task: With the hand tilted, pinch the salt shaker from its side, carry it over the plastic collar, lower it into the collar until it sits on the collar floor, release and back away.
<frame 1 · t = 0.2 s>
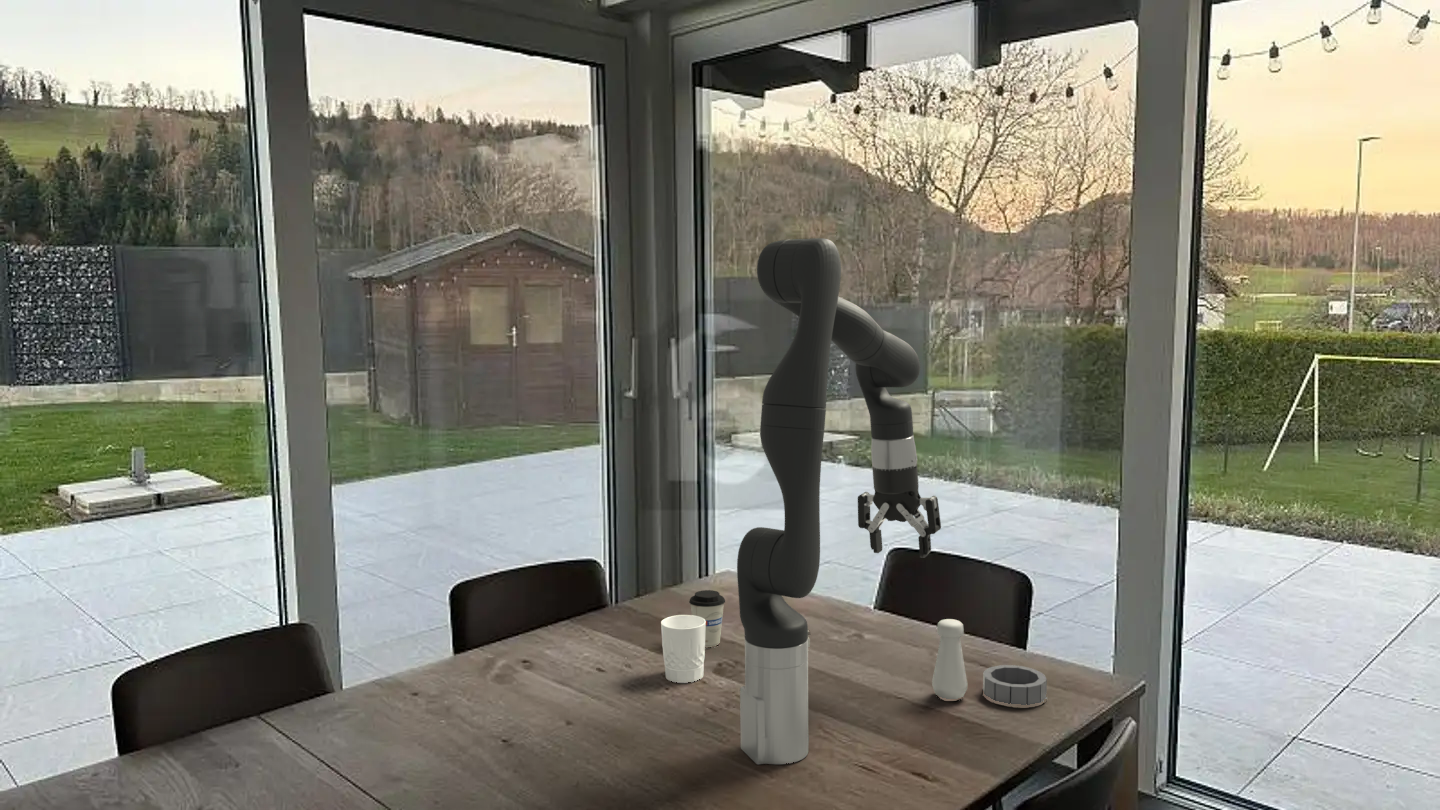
hand: (901, 554, 179), 22 cm above the table, tool pointing down, fingers open, 8 cm apart
collar: (1014, 696, 174), on the table
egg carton: (787, 646, 201), on the table
coffee cup: (707, 645, 201), on the table
salt shaker: (949, 698, 174), on the table
white cup: (684, 677, 185), on the table
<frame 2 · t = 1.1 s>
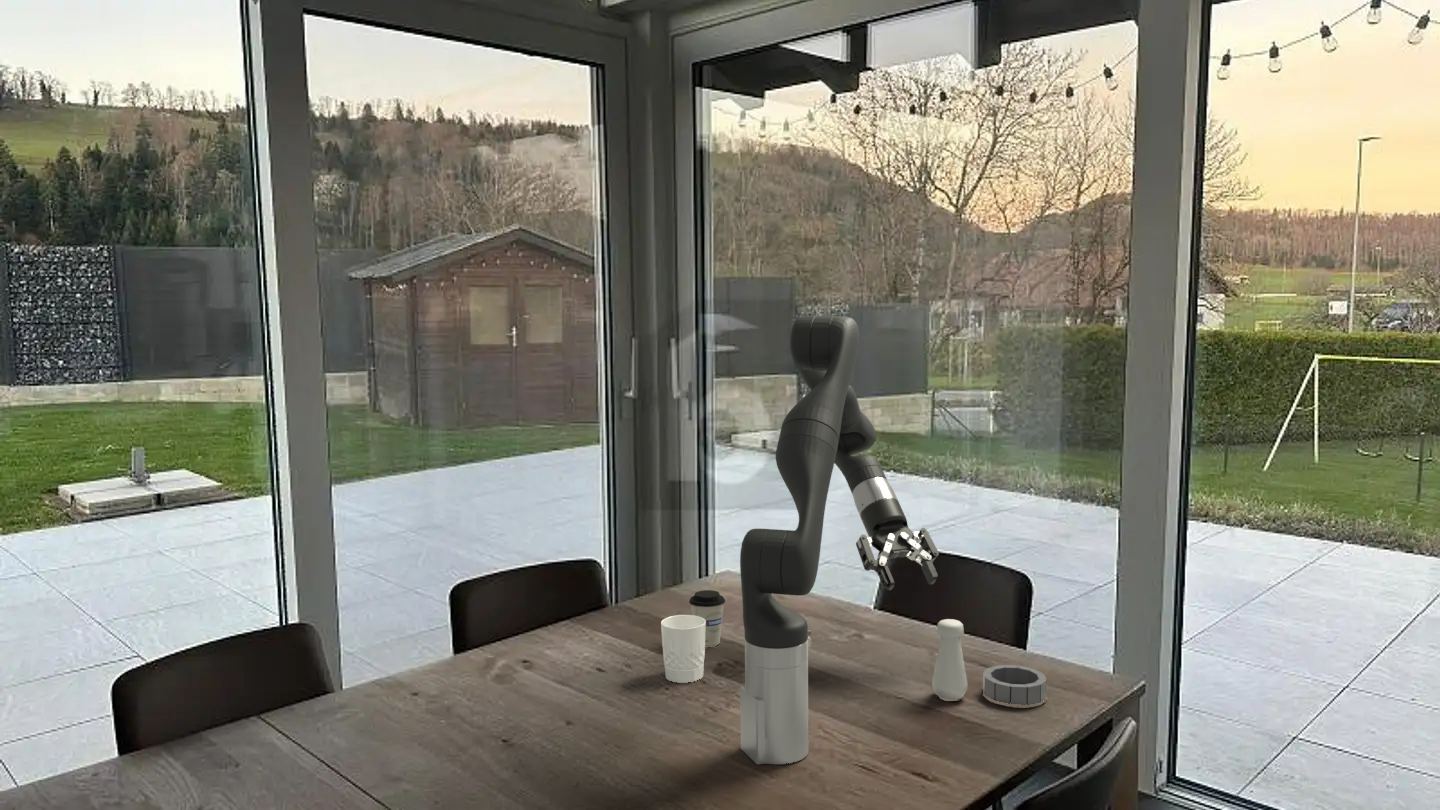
hand: (912, 584, 182), 16 cm above the table, tool tilted 45°, fingers open, 8 cm apart
nothing on the table moved.
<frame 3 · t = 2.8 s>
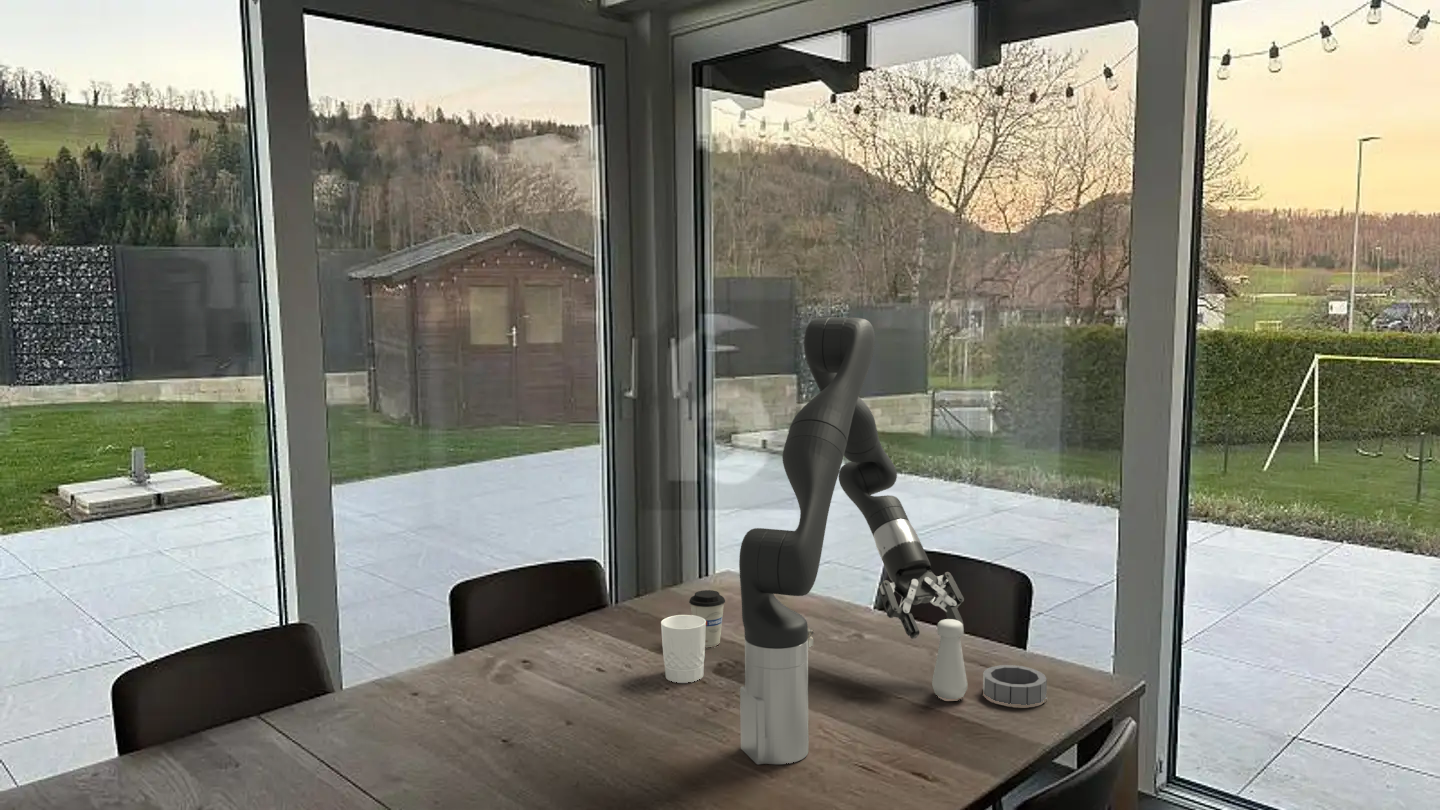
hand: (937, 633, 176), 10 cm above the table, tool tilted 45°, fingers open, 8 cm apart
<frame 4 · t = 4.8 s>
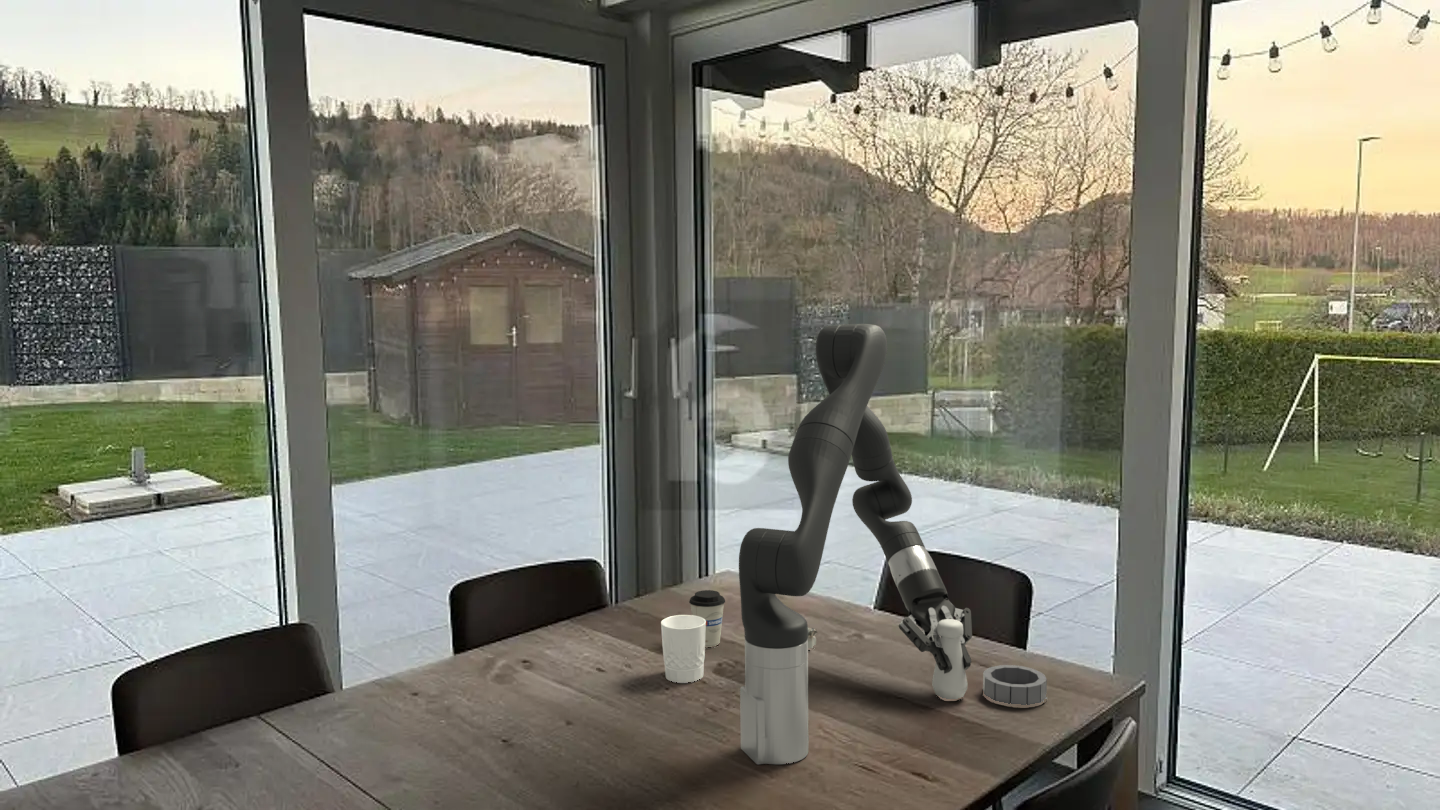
hand: (957, 669, 171), 5 cm above the table, tool tilted 45°, fingers closed on salt shaker, 3 cm apart
salt shaker: (949, 698, 174), on the table, touching gripper
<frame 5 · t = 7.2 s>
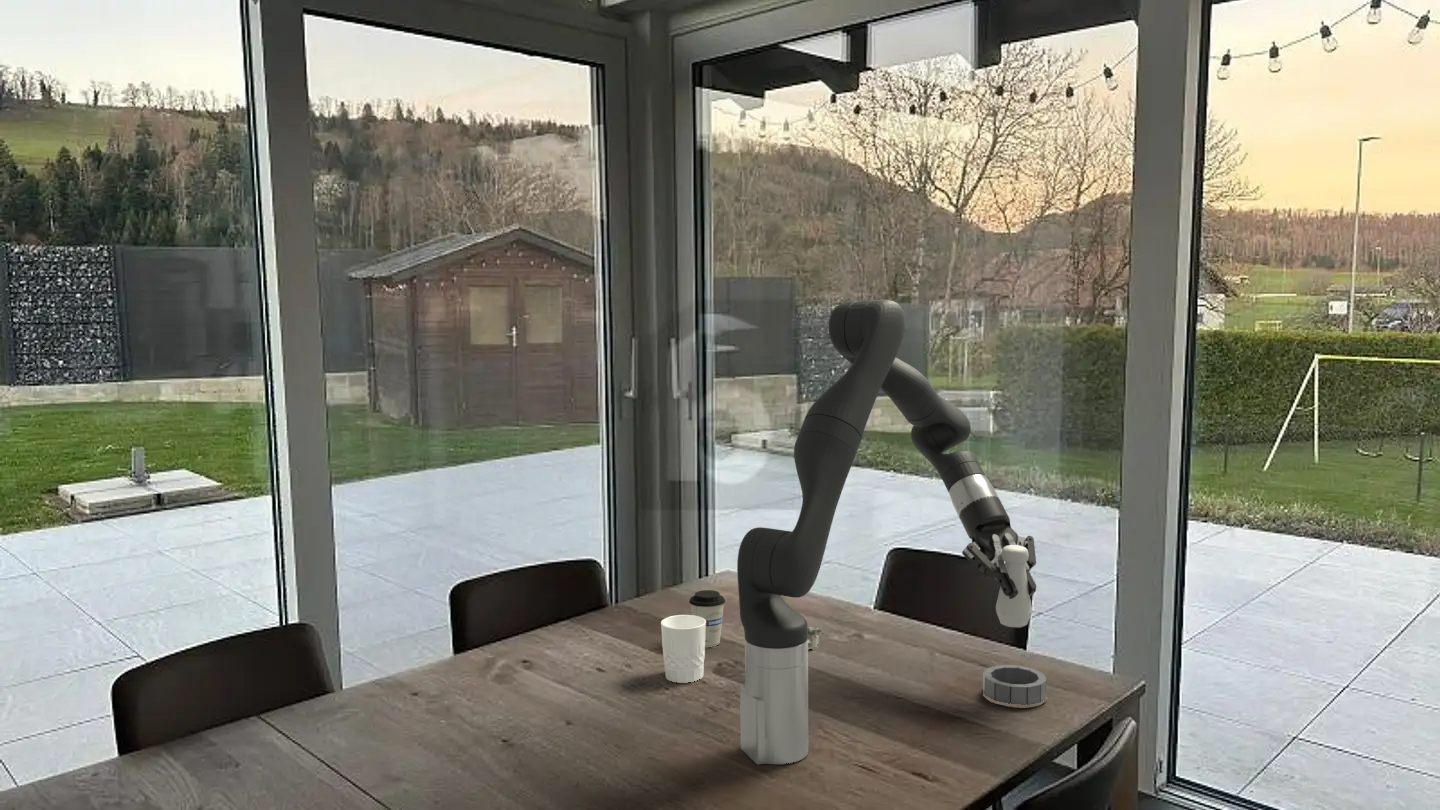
hand: (1022, 594, 170), 18 cm above the table, tool tilted 45°, fingers closed on salt shaker, 3 cm apart
salt shaker: (1013, 624, 173), point 12 cm above the table, touching gripper
when the fingers open (6 cm above the table, at t = 9.8 s): salt shaker stays where it is, resting on collar.
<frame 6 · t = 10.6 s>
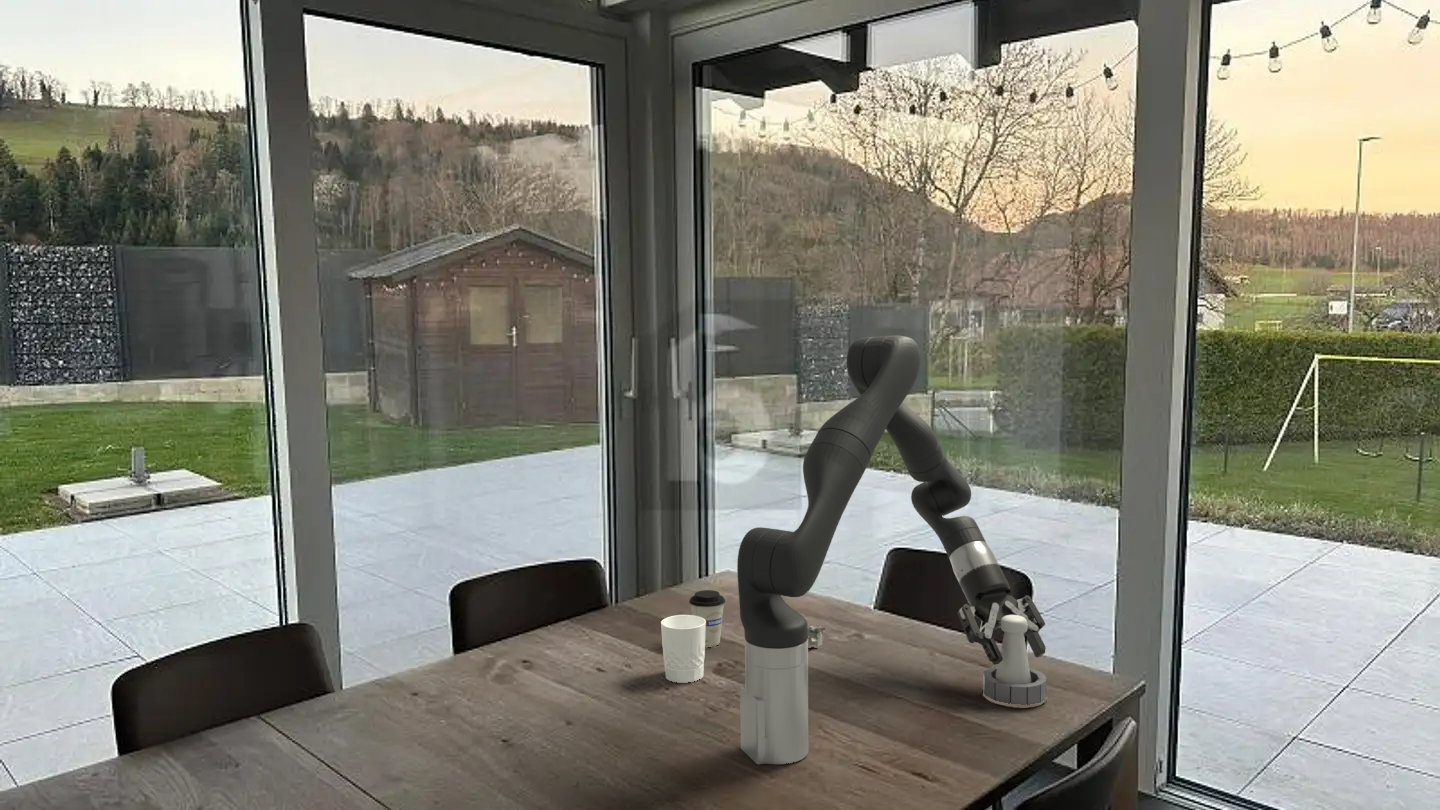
hand: (1020, 658, 172), 7 cm above the table, tool tilted 45°, fingers open, 8 cm apart
salt shaker: (1012, 694, 174), resting on collar
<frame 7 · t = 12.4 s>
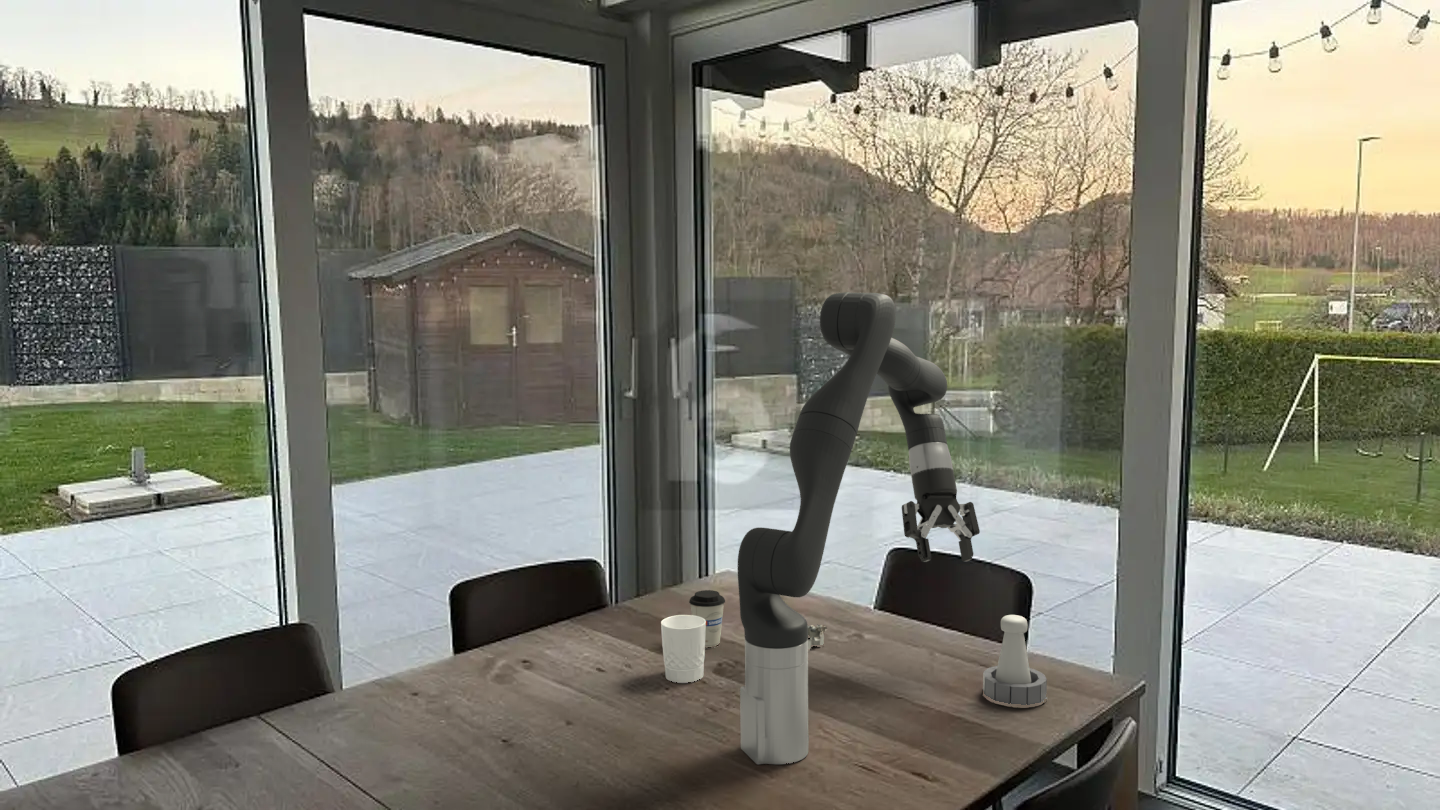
hand: (947, 560, 183), 20 cm above the table, tool tilted 25°, fingers open, 8 cm apart
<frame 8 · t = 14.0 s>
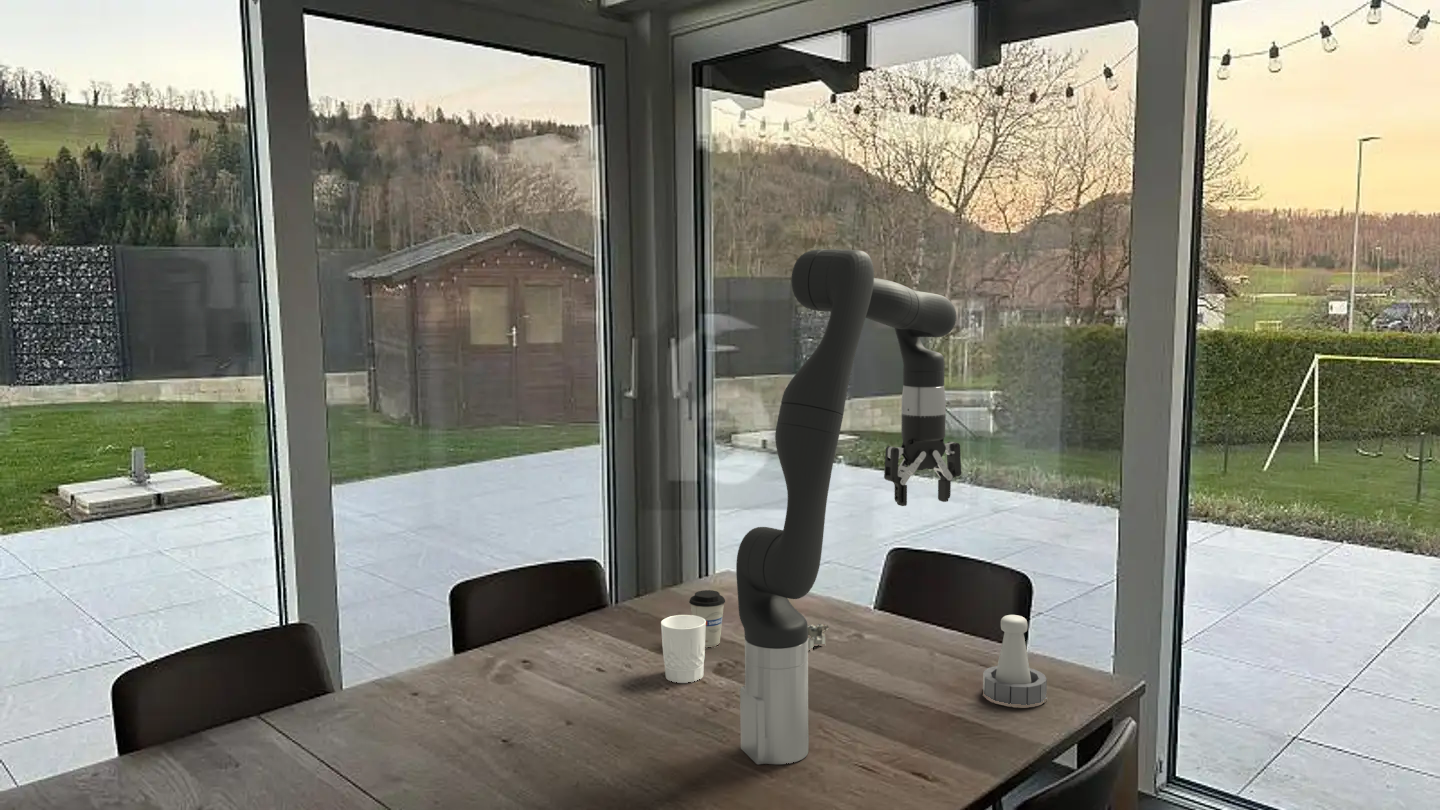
hand: (922, 503, 183), 30 cm above the table, tool pointing down, fingers open, 8 cm apart
at the end: salt shaker 0.3 cm from the collar (horizontally); salt shaker resting on collar; salt shaker tilted 0° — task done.
